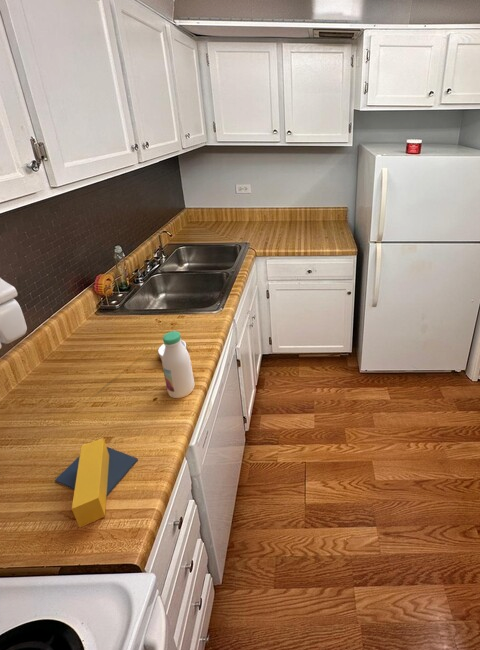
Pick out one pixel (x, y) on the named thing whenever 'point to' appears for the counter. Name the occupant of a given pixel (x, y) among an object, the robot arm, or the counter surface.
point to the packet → (91, 483)
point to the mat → (116, 470)
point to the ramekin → (162, 348)
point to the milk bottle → (177, 366)
